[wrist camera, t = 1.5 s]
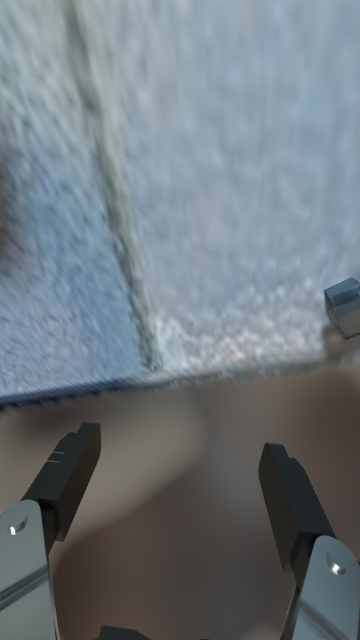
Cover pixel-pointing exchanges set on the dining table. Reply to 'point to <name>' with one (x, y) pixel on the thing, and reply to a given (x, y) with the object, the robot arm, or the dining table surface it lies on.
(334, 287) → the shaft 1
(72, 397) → the dining table surface
